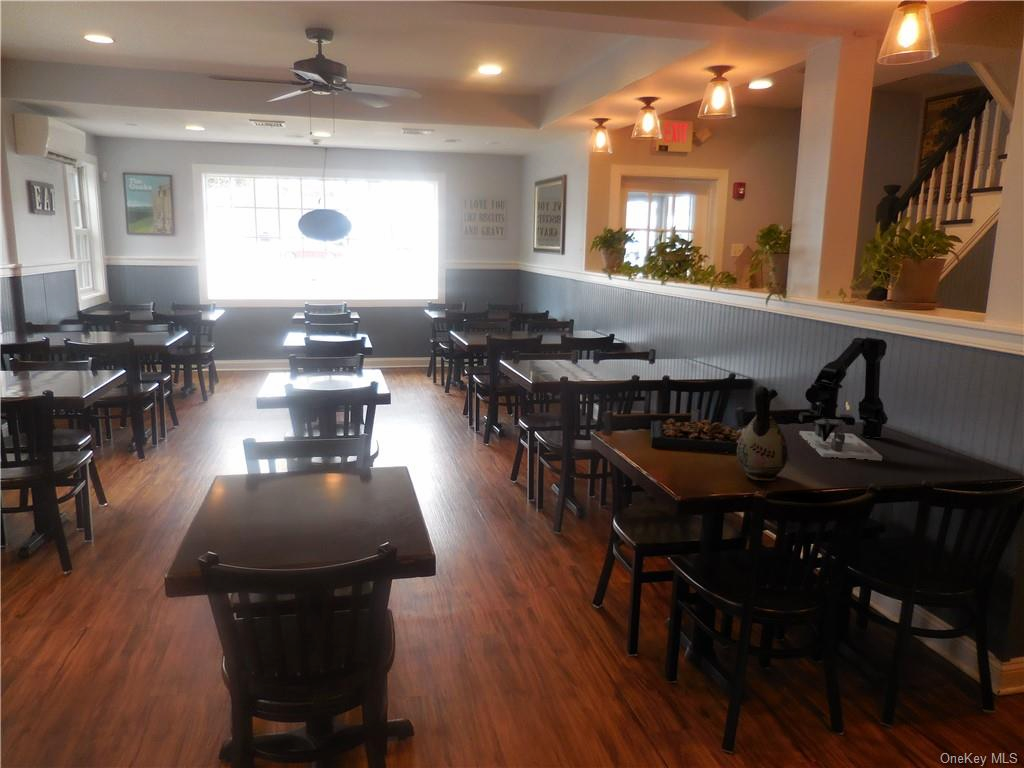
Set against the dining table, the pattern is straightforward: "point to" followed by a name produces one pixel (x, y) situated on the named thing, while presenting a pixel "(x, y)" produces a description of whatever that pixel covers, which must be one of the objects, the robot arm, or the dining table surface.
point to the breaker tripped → (839, 436)
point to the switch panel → (849, 449)
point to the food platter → (695, 436)
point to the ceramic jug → (762, 441)
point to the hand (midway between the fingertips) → (824, 440)
